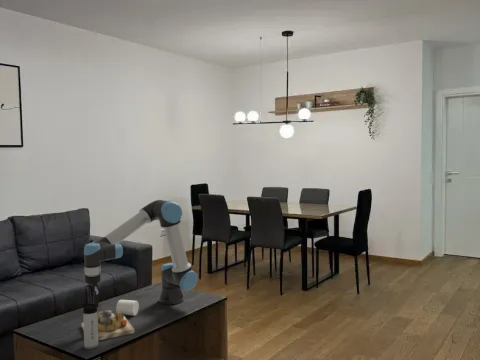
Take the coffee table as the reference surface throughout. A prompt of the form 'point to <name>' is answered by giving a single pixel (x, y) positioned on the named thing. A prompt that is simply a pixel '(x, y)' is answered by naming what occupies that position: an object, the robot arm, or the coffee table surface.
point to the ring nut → (112, 322)
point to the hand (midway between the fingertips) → (93, 319)
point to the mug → (127, 307)
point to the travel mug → (90, 326)
